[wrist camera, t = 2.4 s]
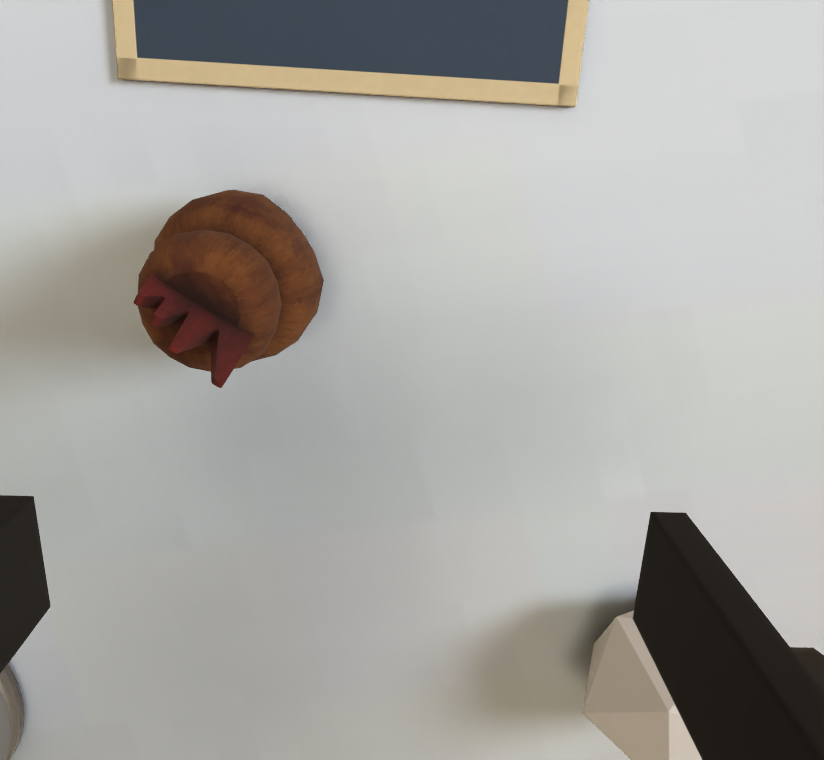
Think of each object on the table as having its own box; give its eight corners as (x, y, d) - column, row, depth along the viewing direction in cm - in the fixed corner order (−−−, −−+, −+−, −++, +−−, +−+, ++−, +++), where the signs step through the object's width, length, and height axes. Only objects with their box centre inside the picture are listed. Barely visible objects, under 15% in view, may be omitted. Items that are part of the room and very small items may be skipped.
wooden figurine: (352, 283, 34) (317, 387, 19) (257, 347, 34) (157, 491, 20) (266, 161, 32) (158, 177, 17) (168, 232, 33) (-10, 303, 18)
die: (609, 714, 43) (772, 822, 36) (522, 713, 38) (693, 842, 30) (655, 584, 44) (825, 663, 36) (576, 564, 38) (757, 652, 30)
